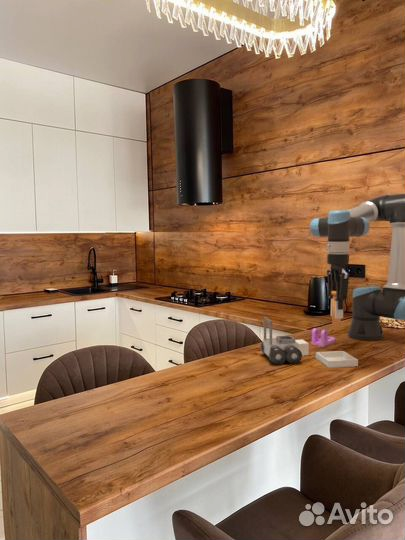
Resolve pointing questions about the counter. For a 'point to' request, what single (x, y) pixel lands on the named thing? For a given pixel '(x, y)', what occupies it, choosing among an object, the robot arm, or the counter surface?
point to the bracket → (323, 340)
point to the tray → (336, 359)
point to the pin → (335, 321)
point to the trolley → (280, 347)
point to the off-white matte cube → (303, 346)
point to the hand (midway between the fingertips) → (336, 317)
